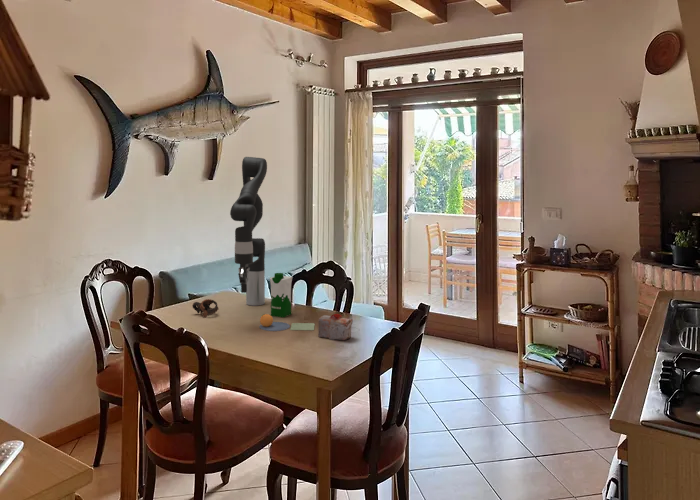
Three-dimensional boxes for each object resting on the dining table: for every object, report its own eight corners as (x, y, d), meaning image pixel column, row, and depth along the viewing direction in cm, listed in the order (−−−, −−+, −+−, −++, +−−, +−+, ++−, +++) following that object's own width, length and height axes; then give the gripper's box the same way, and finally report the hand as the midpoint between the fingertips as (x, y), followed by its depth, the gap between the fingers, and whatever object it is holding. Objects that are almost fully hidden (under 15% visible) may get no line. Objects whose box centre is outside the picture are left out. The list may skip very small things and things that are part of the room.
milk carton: (267, 316, 238) (267, 273, 235) (278, 311, 246) (278, 270, 243) (284, 318, 234) (284, 275, 231) (294, 313, 242) (294, 272, 239)
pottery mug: (219, 312, 244) (221, 300, 239) (213, 326, 236) (216, 313, 231) (193, 306, 242) (195, 293, 238) (187, 319, 234) (189, 306, 230)
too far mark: (291, 323, 226) (291, 323, 226) (314, 323, 227) (314, 323, 227) (290, 330, 216) (290, 329, 216) (313, 330, 217) (313, 329, 217)
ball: (276, 319, 223) (266, 328, 223) (267, 310, 223) (258, 319, 223) (275, 321, 218) (265, 330, 218) (266, 312, 218) (256, 321, 217)
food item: (354, 337, 209) (355, 313, 208) (347, 342, 202) (347, 318, 200) (324, 333, 214) (324, 309, 213) (315, 338, 207) (316, 314, 205)
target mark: (261, 322, 227) (261, 321, 227) (291, 322, 228) (291, 322, 228) (257, 330, 214) (257, 330, 214) (288, 331, 215) (288, 330, 215)
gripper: (250, 254, 210) (250, 295, 212) (255, 249, 223) (255, 288, 225) (231, 254, 209) (232, 295, 212) (237, 249, 223) (238, 288, 225)
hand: (244, 292), depth 219 cm, fingers closed
